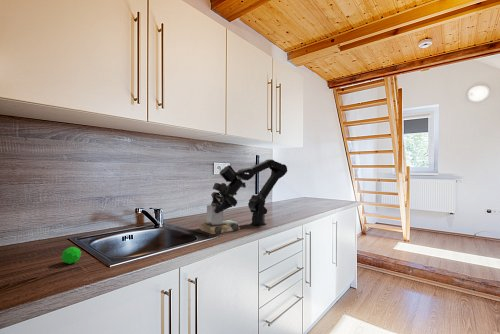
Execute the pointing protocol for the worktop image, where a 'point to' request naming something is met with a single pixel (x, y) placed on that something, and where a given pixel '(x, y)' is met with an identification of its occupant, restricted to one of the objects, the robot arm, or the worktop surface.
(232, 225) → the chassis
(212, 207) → the grey rectangular block
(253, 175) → the robot arm
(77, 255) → the polyhedron
